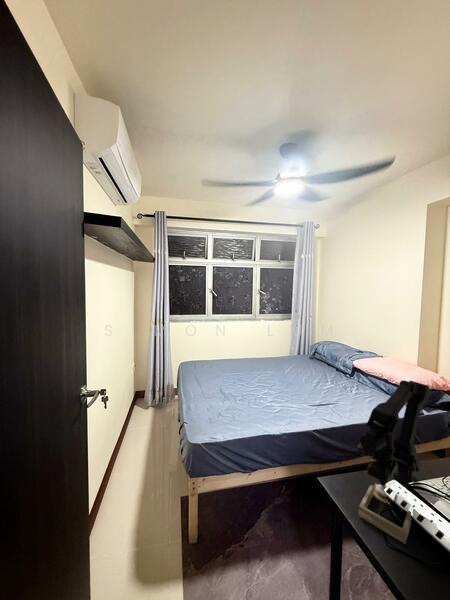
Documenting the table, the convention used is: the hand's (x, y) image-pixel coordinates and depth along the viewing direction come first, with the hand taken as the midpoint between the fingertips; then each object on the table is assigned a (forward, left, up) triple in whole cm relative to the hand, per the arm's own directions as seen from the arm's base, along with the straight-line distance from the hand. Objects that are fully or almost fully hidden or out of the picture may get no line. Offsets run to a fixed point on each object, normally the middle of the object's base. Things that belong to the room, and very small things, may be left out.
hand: (383, 483), depth 93 cm
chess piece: (0, 0, -3) cm, 3 cm away
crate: (+9, +3, -4) cm, 10 cm away
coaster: (0, 0, -4) cm, 4 cm away
